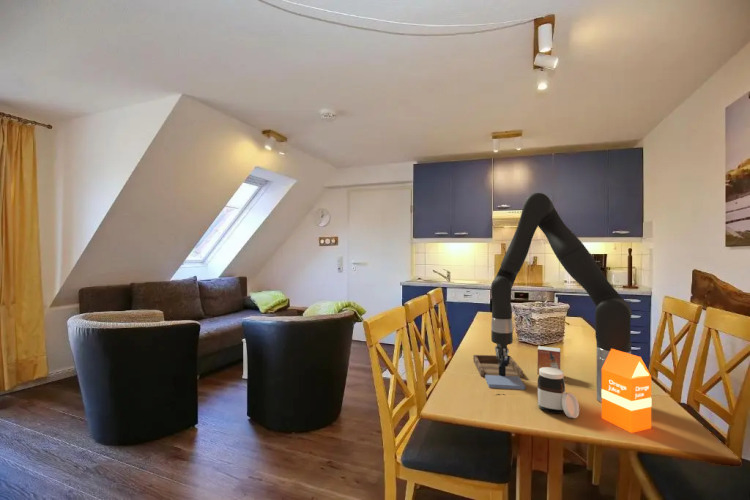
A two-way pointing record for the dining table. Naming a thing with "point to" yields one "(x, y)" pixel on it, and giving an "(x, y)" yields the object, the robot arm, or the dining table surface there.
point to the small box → (548, 357)
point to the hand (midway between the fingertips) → (502, 375)
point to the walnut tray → (495, 366)
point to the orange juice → (626, 391)
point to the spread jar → (555, 393)
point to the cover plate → (504, 382)
